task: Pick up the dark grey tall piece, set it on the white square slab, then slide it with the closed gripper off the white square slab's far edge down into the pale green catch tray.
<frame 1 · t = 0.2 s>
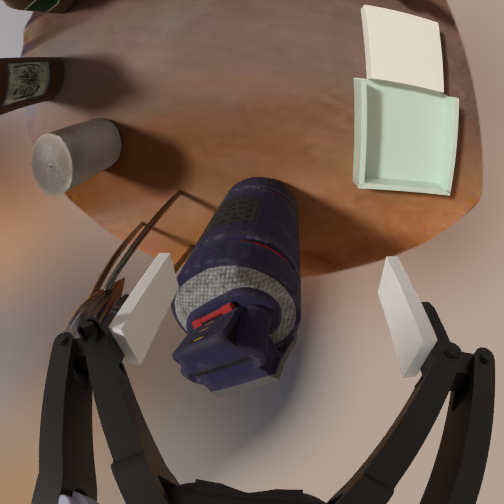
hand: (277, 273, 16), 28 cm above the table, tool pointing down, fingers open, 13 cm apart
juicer: (164, 221, 48), on the table
grenade: (264, 214, 45), on the table
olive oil: (50, 79, 34), on the table
white square slab: (401, 49, 27), on the table
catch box: (403, 134, 34), on the table
pillar candle: (102, 143, 41), on the table
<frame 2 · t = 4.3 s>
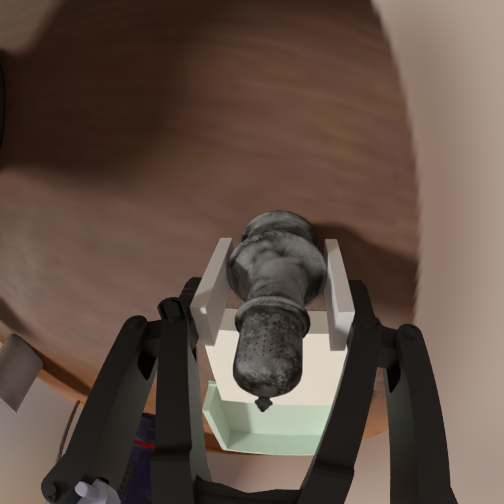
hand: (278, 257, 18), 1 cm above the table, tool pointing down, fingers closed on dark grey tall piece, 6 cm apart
grenade: (160, 425, 43), on the table
white square slab: (279, 354, 25), on the table
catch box: (277, 414, 32), on the table
pillar candle: (27, 349, 39), on the table
dark grey tall piece: (279, 244, 19), on the table, touching gripper
when the fingers open (5 cm above the table, at t = 9.7 s): dark grey tall piece drops 1 cm, resting on white square slab.
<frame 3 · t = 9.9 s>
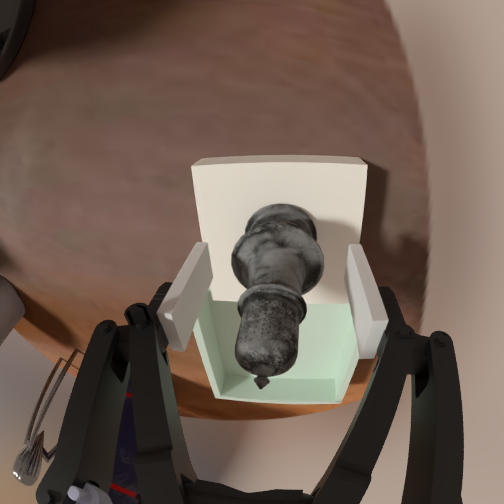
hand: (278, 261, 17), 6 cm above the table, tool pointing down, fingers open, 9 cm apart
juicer: (75, 362, 43), on the table
grenade: (146, 379, 40), on the table
white square slab: (281, 227, 23), on the table
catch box: (280, 340, 30), on the table
pillar candle: (10, 294, 36), on the table
dark grey tall piece: (280, 235, 20), point 2 cm above the table, touching white square slab
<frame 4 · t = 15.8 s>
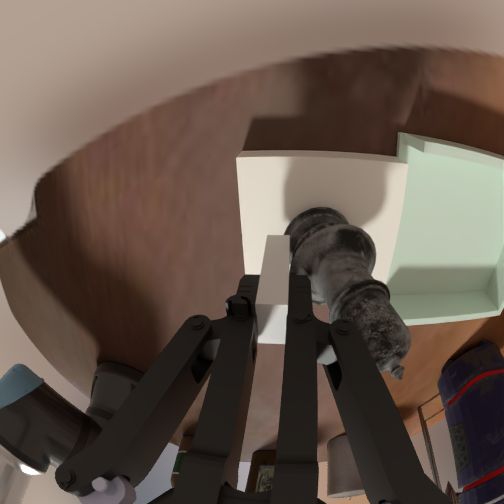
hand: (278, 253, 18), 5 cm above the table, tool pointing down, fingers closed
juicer: (432, 411, 39), on the table
grenade: (471, 359, 30), on the table
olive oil: (271, 454, 55), on the table
white square slab: (319, 223, 22), on the table
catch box: (458, 229, 20), on the table
pillar candle: (349, 439, 46), on the table
dark grey tall piece: (316, 239, 20), point 3 cm above the table, touching white square slab, gripper
beer bottle: (198, 440, 55), on the table
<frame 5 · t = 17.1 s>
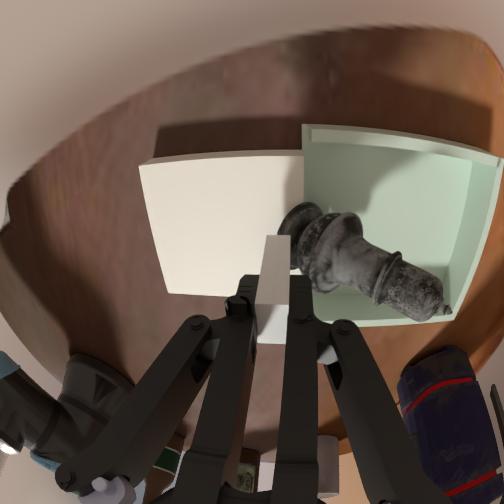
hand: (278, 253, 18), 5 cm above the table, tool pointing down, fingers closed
grenade: (436, 364, 31), on the table
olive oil: (242, 451, 56), on the table
white square slab: (229, 221, 23), on the table
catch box: (392, 224, 21), on the table
pillar candle: (316, 440, 47), on the table
dark grey tall piece: (298, 235, 20), point 2 cm above the table, touching white square slab, gripper
beer bottle: (170, 434, 56), on the table
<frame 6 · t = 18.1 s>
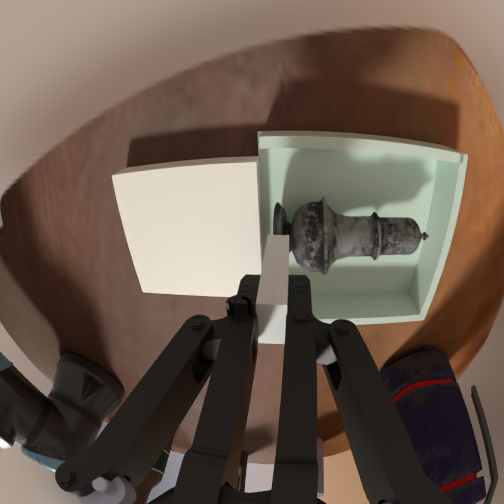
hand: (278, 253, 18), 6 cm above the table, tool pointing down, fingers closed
grenade: (415, 365, 32), on the table
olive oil: (230, 452, 56), on the table
white square slab: (195, 225, 25), on the table
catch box: (353, 225, 23), on the table
pillar candle: (301, 441, 48), on the table
dark grey tall piece: (275, 237, 21), point 3 cm above the table, touching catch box, gripper
beer bottle: (159, 434, 56), on the table
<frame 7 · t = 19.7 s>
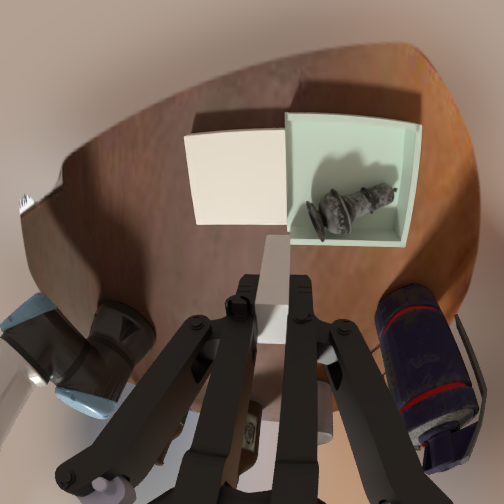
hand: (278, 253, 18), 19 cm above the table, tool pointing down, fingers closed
grenade: (408, 304, 42), on the table
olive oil: (245, 405, 68), on the table
white square slab: (240, 174, 35), on the table
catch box: (348, 175, 33), on the table
pillar candle: (312, 388, 59), on the table
dark grey tall piece: (313, 222, 32), point 4 cm above the table, touching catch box
beer bottle: (180, 389, 68), on the table
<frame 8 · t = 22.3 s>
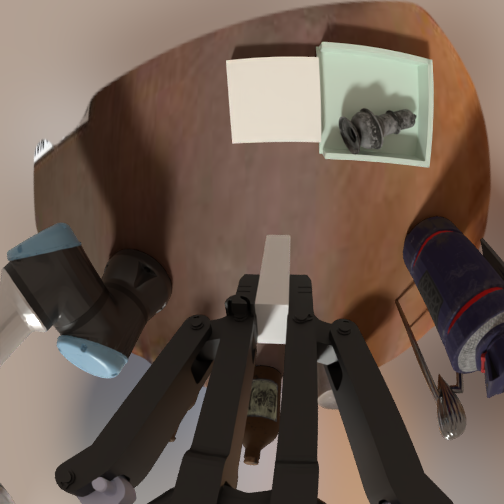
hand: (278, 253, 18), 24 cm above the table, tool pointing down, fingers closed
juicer: (412, 314, 51), on the table
grenade: (432, 240, 41), on the table
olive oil: (263, 374, 66), on the table
white square slab: (275, 99, 34), on the table
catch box: (373, 103, 32), on the table
pillar candle: (336, 347, 58), on the table
dark grey tall piece: (347, 136, 31), point 4 cm above the table, touching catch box
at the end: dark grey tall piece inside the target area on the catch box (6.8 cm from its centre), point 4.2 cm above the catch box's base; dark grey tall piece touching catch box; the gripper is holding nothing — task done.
